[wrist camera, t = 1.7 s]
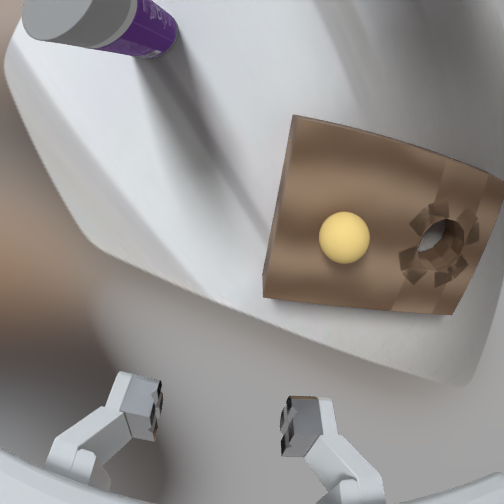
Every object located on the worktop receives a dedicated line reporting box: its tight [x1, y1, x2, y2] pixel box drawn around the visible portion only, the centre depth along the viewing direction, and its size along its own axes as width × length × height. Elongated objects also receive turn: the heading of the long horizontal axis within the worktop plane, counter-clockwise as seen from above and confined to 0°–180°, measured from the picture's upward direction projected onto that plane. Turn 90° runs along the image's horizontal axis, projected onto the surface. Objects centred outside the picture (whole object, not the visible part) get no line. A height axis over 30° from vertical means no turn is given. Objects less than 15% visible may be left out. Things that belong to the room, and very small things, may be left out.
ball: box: [319, 212, 370, 264], centre depth 24 cm, size 4×4×4 cm
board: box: [262, 115, 504, 315], centre depth 28 cm, size 16×22×4 cm
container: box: [22, 0, 178, 59], centre depth 15 cm, size 5×5×15 cm
